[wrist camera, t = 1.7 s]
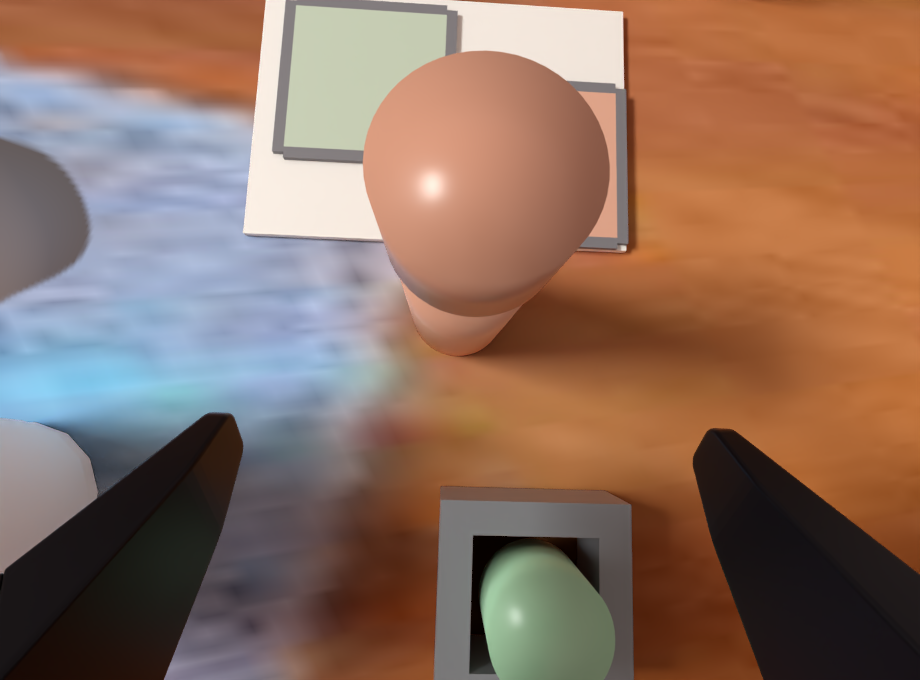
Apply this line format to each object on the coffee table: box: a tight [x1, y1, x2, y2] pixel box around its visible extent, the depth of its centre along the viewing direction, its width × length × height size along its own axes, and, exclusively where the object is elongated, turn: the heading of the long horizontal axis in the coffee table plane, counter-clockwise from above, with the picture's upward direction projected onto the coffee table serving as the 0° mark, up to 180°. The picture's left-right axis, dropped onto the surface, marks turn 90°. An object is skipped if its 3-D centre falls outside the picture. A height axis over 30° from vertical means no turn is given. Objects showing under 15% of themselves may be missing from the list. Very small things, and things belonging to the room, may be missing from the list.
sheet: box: [243, 0, 628, 253], centre depth 22 cm, size 12×17×1 cm
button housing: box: [434, 486, 634, 680], centre depth 18 cm, size 7×7×3 cm
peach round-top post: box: [363, 50, 610, 356], centre depth 14 cm, size 4×4×13 cm
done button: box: [479, 539, 615, 680], centre depth 16 cm, size 4×4×4 cm
